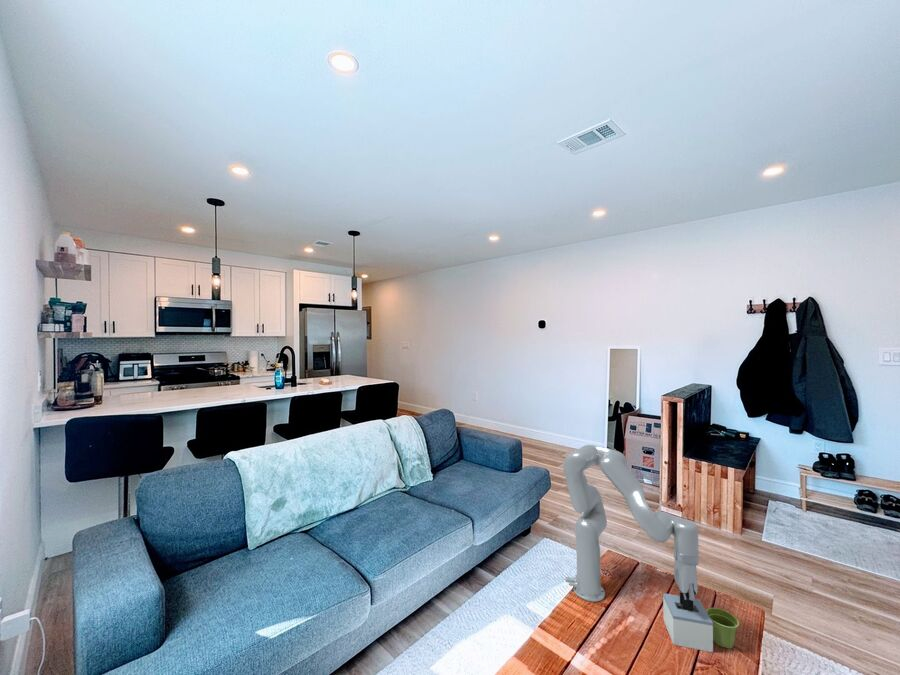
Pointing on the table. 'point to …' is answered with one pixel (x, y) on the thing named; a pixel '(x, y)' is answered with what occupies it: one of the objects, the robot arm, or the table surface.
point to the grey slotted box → (688, 624)
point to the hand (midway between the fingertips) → (686, 606)
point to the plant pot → (723, 627)
